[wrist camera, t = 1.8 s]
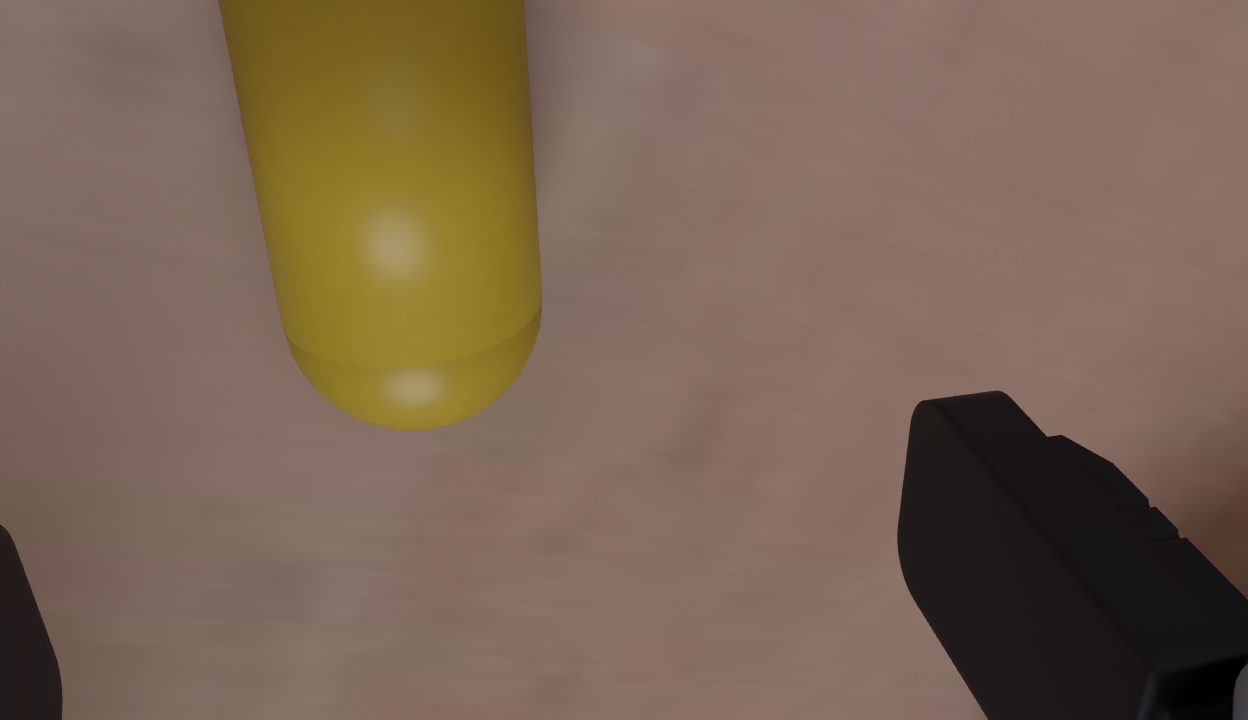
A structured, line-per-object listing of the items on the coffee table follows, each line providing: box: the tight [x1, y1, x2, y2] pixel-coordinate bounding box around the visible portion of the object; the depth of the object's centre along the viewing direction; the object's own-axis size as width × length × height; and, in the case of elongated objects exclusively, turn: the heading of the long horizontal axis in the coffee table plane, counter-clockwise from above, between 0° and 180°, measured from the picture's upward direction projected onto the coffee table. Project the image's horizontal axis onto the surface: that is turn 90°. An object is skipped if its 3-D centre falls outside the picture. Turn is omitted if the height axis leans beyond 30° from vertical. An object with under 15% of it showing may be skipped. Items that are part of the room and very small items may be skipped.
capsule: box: [219, 0, 542, 430], centre depth 19 cm, size 11×5×5 cm, turn 1°
